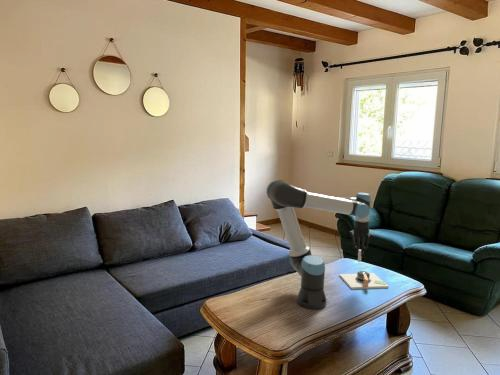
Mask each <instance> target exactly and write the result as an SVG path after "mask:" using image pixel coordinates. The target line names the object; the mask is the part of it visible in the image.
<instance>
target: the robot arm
mask: <svg viewBox="0 0 500 375" xmlns="http://www.w3.org/2000/svg"><path fill="white" fill-rule="evenodd" d="M266 195H267V198H268V199H269V200H270V201H271V206H272V207H273V210H275V211H277V213H278V217H279V220H280V223H281V226H282V229H283V231H284V234H285V238H286V240H287V244H288V246H289V251H288V256H289V264H290V266H291V267H292V269H293V270H295V272H296V273H298V275H299V276H300V289H299V291H298V294H297V296H296V303H297V304H298V305H299V306H300V307H302V308H305V309H308V310H320V309H324V308H325V307H326V306H327V296H326V293H325V289H324V288H325V273H326V271H325V270H326V263H325V261H324V259H322V258H321V257H320V256H316V255H313V254H312V251H311V249H310V246H308V245H306V242H305V239H304V236H303V233H302V229H301V226H300V223H299V220H298V218H297V214H296V211H295V209H296V208H297V209H304V208H309V209H315V210H321V211H325V212H326V211H327V212H331V213H337V214H343V215H347V216H353V217H354V228H353V229H352V230H350V231H349V232H348V233H349V235H350V238H351V243H352V244H351V245H352V248H353V249H355V250H356V251H355V254H356V256H357V262H358V263H361V261H362V257H364V252H365V251H367V250H368V247H369V244H370V241H371V238H373V236H374V234H373V233H371V232H370V228H369V225H370V222H369V221H370V212H371V211H370V210H371V209H370V208H371V194H370V193H366V192H358V193H356V195H355V196H354V197H353V196H351V197H350V196H348V197H345V196H344V197H335V196H331V195H325V194H320V193H315V192H310V191H307V190H306V189H303V188H300V187H298V186H294V185H292V184H291V183H288V182H286V181H285V180H283V179H282V180H281V179H274V180H272V181H271V182H269V184H268V185H267V187H266ZM294 208H295V209H294ZM354 234H355V235H356V238H355V235H354ZM366 236H368V238H367V241H366V244H365V240H366V239H365V238H366ZM355 239H356V240H355ZM360 239H361V241H360ZM360 242H361V249H360Z"/></svg>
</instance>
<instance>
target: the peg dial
mask: <svg viewBox="0 0 500 375" xmlns="http://www.w3.org/2000/svg"><path fill="white" fill-rule="evenodd" d="M369 273H370V272H368V271H365V270H360V271H357V273H356V274H357V279H358V280H360V281H363V283H364V286H365V287H366V288H368V281H369V278H370V274H369Z"/></svg>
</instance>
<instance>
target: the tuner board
mask: <svg viewBox="0 0 500 375" xmlns="http://www.w3.org/2000/svg"><path fill="white" fill-rule="evenodd" d="M368 273H369V274H370V278H369V281H368V288H366V287H365V286H364V283H363V281H360V280H358V279H357V273H339V274H338V275H339V277H340V278H341V280H342V281H343V282H344V283H345V284H346V285H347V286H348V288H350V290H365V289H366V290H368V289H369V290H370V289H373V290H374V289H389V287H390V286H389V285H388V284H387V282H386V281H384V280H382V279H381V278H380V277H379V276H378V275H376V274H375V273H374V272H368Z"/></svg>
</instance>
